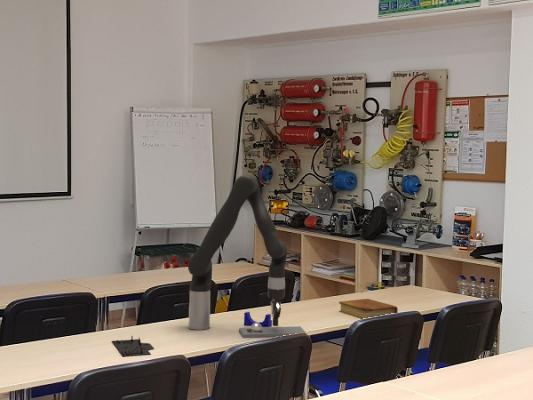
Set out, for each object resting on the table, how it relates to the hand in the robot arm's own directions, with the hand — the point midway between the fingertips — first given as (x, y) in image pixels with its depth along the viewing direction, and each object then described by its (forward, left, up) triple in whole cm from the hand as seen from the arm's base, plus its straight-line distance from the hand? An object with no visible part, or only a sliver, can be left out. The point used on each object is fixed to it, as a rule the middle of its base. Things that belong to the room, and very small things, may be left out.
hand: (275, 325), depth 367 cm
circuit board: (-61, -19, -4) cm, 64 cm away
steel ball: (-8, 0, -1) cm, 8 cm away
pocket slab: (-1, 0, -4) cm, 4 cm away
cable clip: (-5, +16, -4) cm, 17 cm away
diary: (+53, +36, -4) cm, 64 cm away
